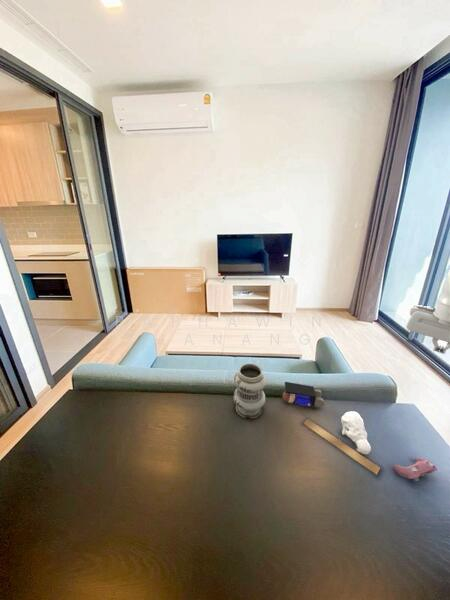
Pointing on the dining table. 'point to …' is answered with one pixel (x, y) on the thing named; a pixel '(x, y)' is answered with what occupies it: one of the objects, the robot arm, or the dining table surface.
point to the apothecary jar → (249, 390)
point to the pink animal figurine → (416, 469)
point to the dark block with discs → (302, 395)
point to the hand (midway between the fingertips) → (439, 351)
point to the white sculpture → (356, 431)
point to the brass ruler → (343, 447)
